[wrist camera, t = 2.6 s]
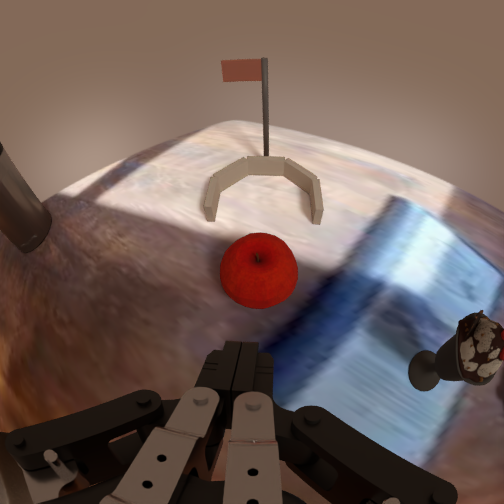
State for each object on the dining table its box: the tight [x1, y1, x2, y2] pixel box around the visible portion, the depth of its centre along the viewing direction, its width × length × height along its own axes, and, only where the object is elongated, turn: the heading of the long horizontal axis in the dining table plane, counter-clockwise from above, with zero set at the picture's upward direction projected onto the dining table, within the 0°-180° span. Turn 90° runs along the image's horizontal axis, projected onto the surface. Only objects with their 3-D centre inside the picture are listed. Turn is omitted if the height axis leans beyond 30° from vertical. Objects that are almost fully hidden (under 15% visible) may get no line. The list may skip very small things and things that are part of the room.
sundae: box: [409, 310, 504, 391], centre depth 18 cm, size 7×7×15 cm
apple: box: [220, 233, 298, 309], centre depth 28 cm, size 8×8×7 cm
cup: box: [204, 58, 324, 225], centre depth 32 cm, size 13×15×18 cm
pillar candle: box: [0, 432, 34, 504], centre depth 11 cm, size 10×10×15 cm
